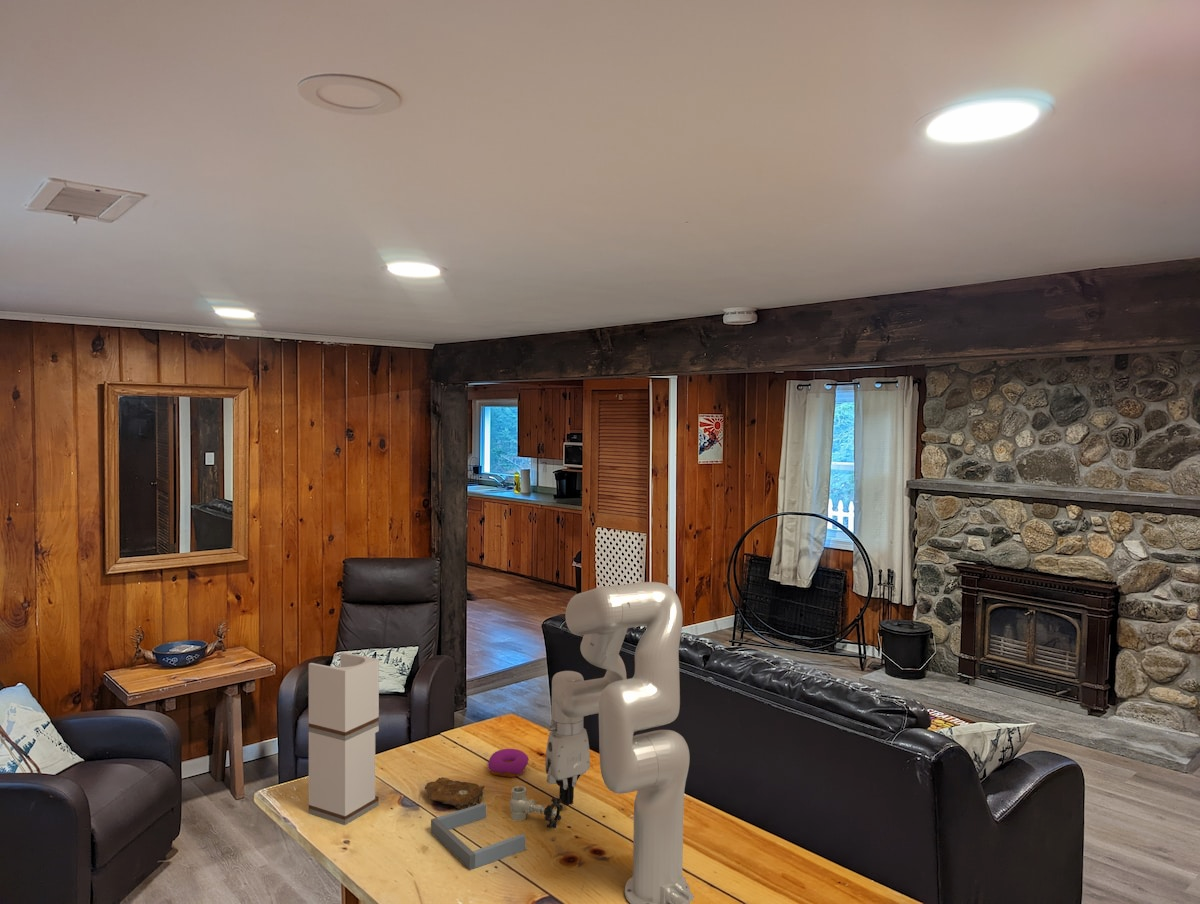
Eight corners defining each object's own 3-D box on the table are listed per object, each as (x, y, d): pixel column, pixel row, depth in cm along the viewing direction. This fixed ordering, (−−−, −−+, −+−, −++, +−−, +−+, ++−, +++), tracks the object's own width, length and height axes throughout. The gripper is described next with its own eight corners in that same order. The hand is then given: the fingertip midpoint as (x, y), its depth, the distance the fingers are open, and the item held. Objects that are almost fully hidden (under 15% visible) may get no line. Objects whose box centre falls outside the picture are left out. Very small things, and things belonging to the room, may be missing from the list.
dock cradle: (525, 849, 168) (525, 836, 167) (469, 870, 160) (470, 855, 159) (483, 815, 182) (483, 802, 182) (430, 832, 174) (430, 819, 174)
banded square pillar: (378, 805, 187) (378, 658, 186) (345, 825, 177) (345, 671, 176) (343, 794, 192) (343, 652, 191) (308, 813, 182) (308, 663, 181)
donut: (482, 776, 203) (482, 759, 203) (497, 761, 213) (497, 744, 213) (520, 781, 200) (520, 763, 200) (533, 765, 210) (533, 748, 210)
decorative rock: (412, 807, 187) (469, 819, 183) (412, 791, 187) (469, 802, 182) (435, 784, 198) (489, 794, 194) (435, 768, 198) (490, 778, 193)
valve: (503, 821, 180) (548, 834, 174) (503, 793, 180) (548, 805, 174) (519, 809, 186) (563, 821, 180) (519, 781, 185) (563, 793, 180)
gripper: (549, 738, 177) (548, 818, 178) (602, 723, 186) (601, 800, 187) (531, 727, 183) (531, 805, 184) (583, 714, 192) (582, 788, 193)
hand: (566, 802), depth 185 cm, fingers closed
